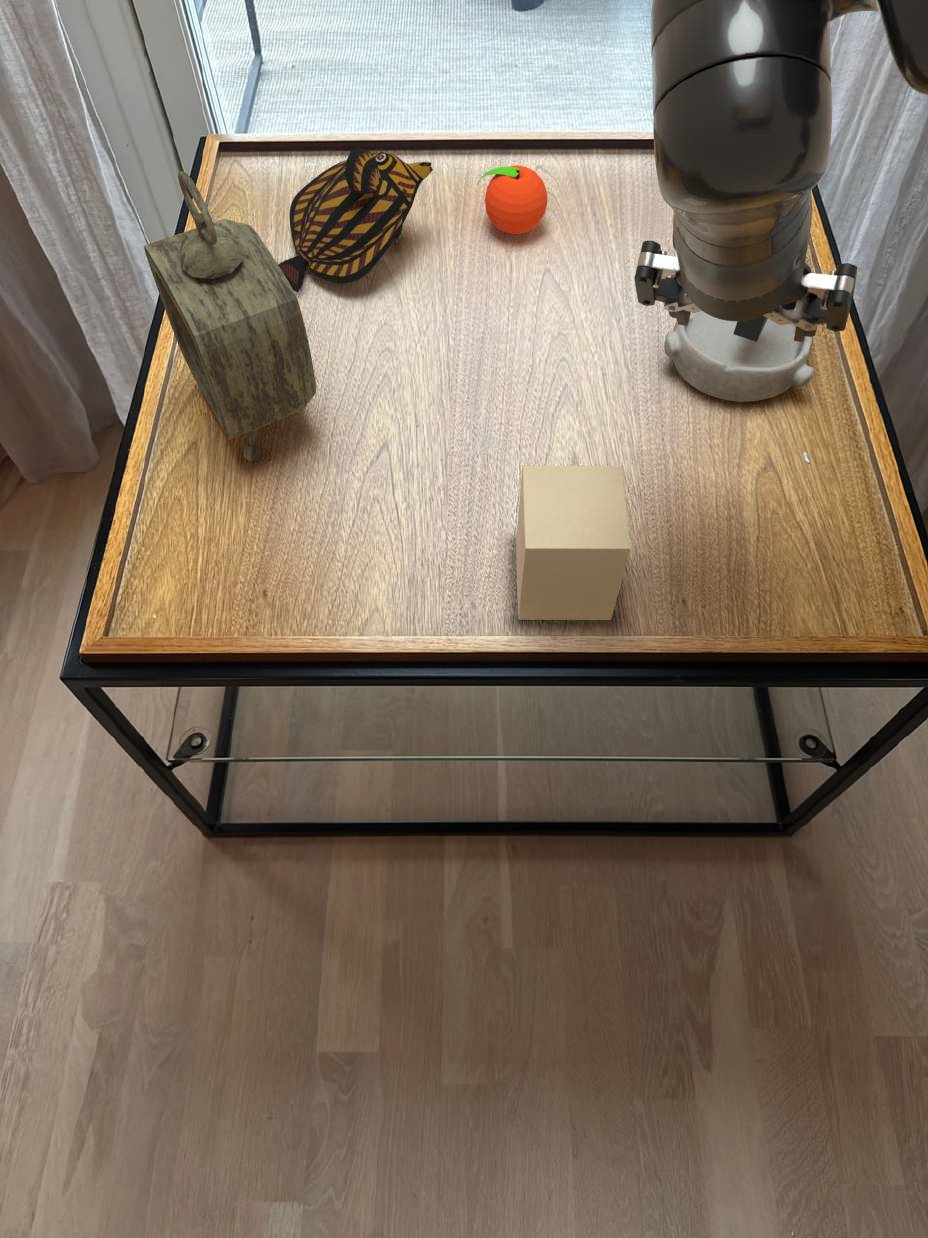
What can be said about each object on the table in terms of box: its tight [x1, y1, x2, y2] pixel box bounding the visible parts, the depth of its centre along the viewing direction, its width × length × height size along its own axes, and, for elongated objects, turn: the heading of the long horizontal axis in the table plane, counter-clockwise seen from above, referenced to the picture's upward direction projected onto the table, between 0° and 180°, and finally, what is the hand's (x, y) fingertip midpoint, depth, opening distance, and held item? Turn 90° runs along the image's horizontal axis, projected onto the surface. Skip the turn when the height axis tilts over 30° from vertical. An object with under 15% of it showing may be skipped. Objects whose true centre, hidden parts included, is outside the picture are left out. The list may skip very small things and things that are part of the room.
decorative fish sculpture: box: [277, 148, 434, 292], centre depth 97 cm, size 14×16×12 cm
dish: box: [663, 306, 815, 403], centre depth 92 cm, size 14×14×5 cm
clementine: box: [476, 164, 549, 235], centre depth 101 cm, size 8×7×7 cm
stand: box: [515, 465, 632, 621], centre depth 76 cm, size 8×8×11 cm
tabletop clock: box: [143, 171, 317, 462], centre depth 80 cm, size 14×9×25 cm, turn 29°
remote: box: [733, 316, 768, 342], centre depth 86 cm, size 2×5×8 cm, turn 154°
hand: (742, 320), depth 69 cm, fingers open, 8 cm apart
